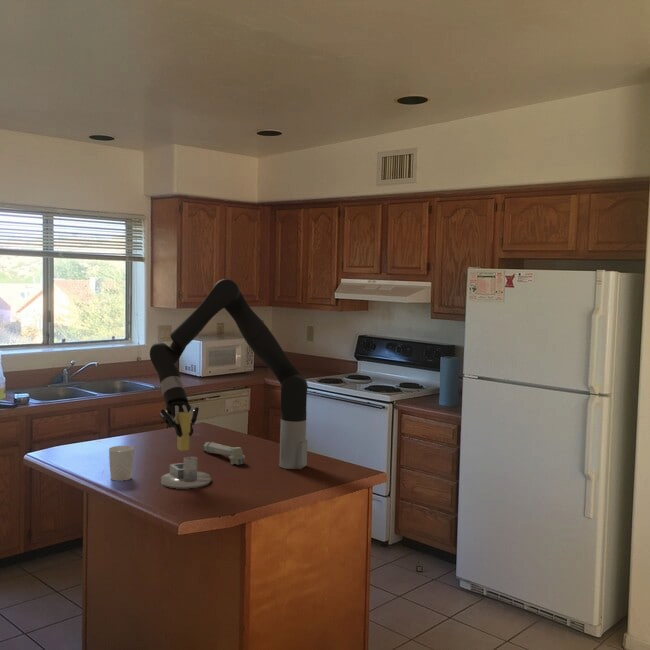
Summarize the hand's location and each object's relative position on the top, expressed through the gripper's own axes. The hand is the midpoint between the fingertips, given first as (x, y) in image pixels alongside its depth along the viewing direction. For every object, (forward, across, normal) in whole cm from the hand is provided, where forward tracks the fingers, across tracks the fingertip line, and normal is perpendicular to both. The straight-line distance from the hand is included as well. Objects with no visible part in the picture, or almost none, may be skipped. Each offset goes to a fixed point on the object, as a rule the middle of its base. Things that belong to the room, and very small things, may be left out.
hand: (185, 435), depth 228 cm
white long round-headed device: (-5, +24, +27) cm, 36 cm away
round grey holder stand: (+12, 0, +10) cm, 15 cm away
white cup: (+3, -18, +20) cm, 26 cm away
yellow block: (+2, 0, +5) cm, 6 cm away
